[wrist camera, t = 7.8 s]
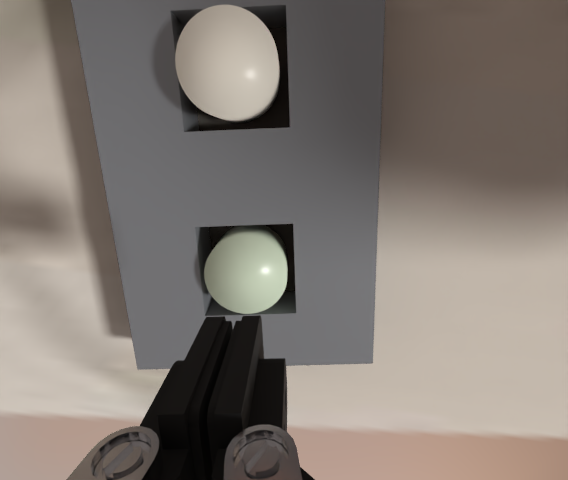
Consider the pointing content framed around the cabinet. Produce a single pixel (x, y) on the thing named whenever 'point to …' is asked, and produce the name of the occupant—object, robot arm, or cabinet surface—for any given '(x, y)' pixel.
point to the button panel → (241, 174)
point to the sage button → (247, 269)
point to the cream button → (228, 63)
